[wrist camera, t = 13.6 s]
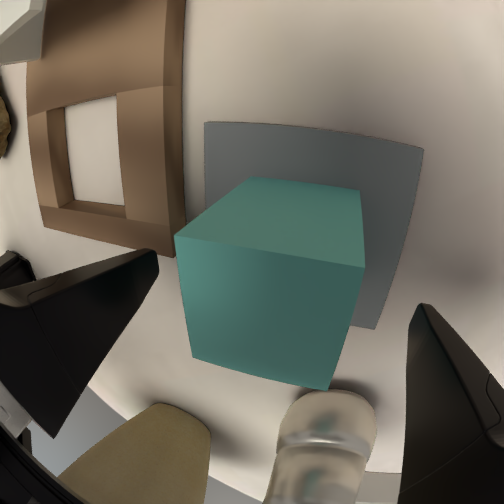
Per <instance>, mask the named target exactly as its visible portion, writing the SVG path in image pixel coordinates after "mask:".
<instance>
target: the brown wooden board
mask: <svg viewBox="0 0 504 504" xmlns="http://www.w3.org/2000/svg"><path fill="white" fill-rule="evenodd" d="M184 14H185V0H47V2H46V8H45V14H44V21H43V30H42V39H41V52H40V59H38V60H36V61H31V62H27V76H26V99H27V122H28V135H29V145H30V154H31V161H32V168H33V175H34V181H35V187H36V192H37V197H38V202H39V207H40V211H41V216H42V220H43V224H44V227H46V228H50V229H54V230H58V231H62V232H66V233H70V234H74V235H78V236H82V237H86V238H90V239H94V240H98V241H102V242H107V243H111V244H115V245H119V246H123V247H127V248H132V249H136V250H139V249H143V248H149V249H153V250H155V251H156V253H157V255H162V256H166V257H171V258H174V257H175V256H176V249H175V241H174V235H175V234H176V233H177V232H179V231H180V230H181V229H182V228H184V227H185V226H186V218H185V202H184V183H183V159H182V53H183V30H184ZM115 95H116V96H117V127H118V144H119V157H120V168H121V178H122V187H123V195H124V203H125V206H119V205H111V204H103V203H95V202H87V201H79V200H74V197H73V191H72V185H71V178H70V171H69V163H68V155H67V145H66V134H65V119H64V107H67V106H71V105H75V104H79V103H83V102H87V101H91V100H96V99H100V98H105V97H110V96H115Z"/></svg>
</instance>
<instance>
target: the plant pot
mask: <svg viewBox="0 0 504 504" xmlns="http://www.w3.org/2000/svg"><path fill="white" fill-rule="evenodd" d="M210 441H211V435H210V432H209V430H208V429H207V427H206V426H205V425H204V424H203V423H201V422H200V421H199V420H198V419H196V418H195V417H193V416H192V415H190V414H188V413H186V412H185V411H183V410H181V409H178V408H176V407H174V406H171V405H168V404H163V403H156V404H154V405H152V406H150V407H149V408H147V409H146V410H144V411H142V412H141V413H139V414H138V415H136V416H135V417H133V418H131V419H130V420H128V421H127V422H126V423H124V424H123V425H121V426H120V427H118V428H117V429H115V430H114V431H113V432H111V433H110V434H109V435H107V436H106V437H104V438H103V439H102V440H100V441H99V442H98V443H97V444H95V445H94V446H93V447H91V448H90V449H89V450H88V451H86V452H85V453H84V454H83V455H81V456H80V457H79V458H78V459H77V460H76V461H75V462H73V463H72V464H71V465H70V466H69V467H68V468H67V469H66V470H65V471H64V472H62V473H61V474H60V475H59V476H58V477H57V478H58V479H59V480H60V481H62V482H63V483H64V484H65V485H67V486H68V487H69V488H70V489H72V490H73V491H74V492H76V493H77V494H78V495H80V496H81V497H82V498H84V499H85V500H86V501H88V502H89V503H91V504H203V503H204V498H205V492H206V485H207V478H208V470H209V460H210Z"/></svg>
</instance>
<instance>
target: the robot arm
mask: <svg viewBox="0 0 504 504" xmlns="http://www.w3.org/2000/svg"><path fill="white" fill-rule="evenodd" d="M158 274H159V265H158V258H157V253H156V251H155V250H153V249H149V248H143V249H139V250H136V251H133V252H129V253H126V254H122V255H119V256H115V257H112V258H109V259H105V260H102V261H99V262H95V263H92V264H89V265H86V266H82V267H79V268H76V269H73V270H70V271H66V272H63V273H60V274H57V275H54V276H50V277H47V278H44V279H40V280H37V281H36V278H35V276H34V273H33V270H32V267H31V265H30V262H29V261H28V260H27V259H25V258H23V257H21V256H19V255H17V254H15V253H13V252H11V251H9V250H7V251H6V253H5V254H4V255H2V256H1V257H0V504H91V503H89V502H88V501H86V500H85V499H84V498H82V497H81V496H80V495H78V494H77V493H76V492H74V491H73V490H72V489H70V488H69V487H68V486H67V485H65V484H64V483H63V482H62V481H60V480H59V479H58V478H57V477H56V476H55V475H53V474H52V473H51V472H50V471H49V470H47V468H45V467H44V466H43V465H42V464H41V463H40V462H39V461H38V460H37V459H36V458H35V457H34V456H33V455H32V446H31V432H30V430H29V429H28V428H27V427H26V426H27V425H28V424H29V423H30V422H31V420H33V421H34V422H35V423H36V424H37V425H38V426H39V427H40V428H41V429H42V430H44V431H45V432H46V433H47V434H48V435H49V436H50V437H52V438H53V439H54V438H55V437H56V435H57V434H58V432H59V430H60V428H61V427H62V425H63V423H64V422H65V420H66V418H67V417H68V415H69V413H70V412H71V410H72V408H73V407H74V405H75V403H76V402H77V400H78V399H79V397H80V395H81V394H82V392H83V391H84V389H85V387H86V386H87V384H88V383H89V381H90V380H91V378H92V376H93V375H94V373H95V372H96V370H97V369H98V367H99V366H100V364H101V363H102V361H103V360H104V358H105V357H106V355H107V354H108V352H109V351H110V349H111V348H112V346H113V345H114V343H115V342H116V340H117V339H118V338H119V336H120V335H121V333H122V332H123V330H124V329H125V327H126V326H127V325H128V323H129V322H130V320H131V319H132V317H133V316H134V315H135V313H136V312H137V310H138V309H139V307H140V306H141V304H142V303H143V301H144V299H145V297H146V296H147V294H148V292H149V290H150V289H151V287H152V285H153V284H154V282H155V280H156V278H157V277H158ZM489 373H490V372H489V370H488V369H487V368H486V366H485V365H484V364H483V363H482V362H481V360H480V359H479V358H478V357H477V356H476V354H475V353H474V352H473V351H472V350H471V348H470V347H469V346H468V345H467V344H466V343H465V341H464V340H463V339H462V338H461V337H460V336H459V335H458V334H457V332H456V331H455V330H454V329H453V328H452V327H451V326H450V325H449V324H448V322H447V321H446V320H445V319H444V318H443V317H442V316H441V315H440V314H439V313H438V312H437V311H436V309H435V308H434V307H433V306H432V305H430V304H424V303H420V304H419V305H418V306H417V308H416V310H415V313H414V315H413V317H412V319H411V322H410V324H409V329H408V349H407V363H406V426H405V443H404V456H403V466H402V474H401V482H400V489H399V495H398V501H397V504H504V389H503V388H502V387H501V385H500V384H499V383H498V382H497V380H496V379H495V378H494V376H493V375H492V374H491V373H490V374H489Z"/></svg>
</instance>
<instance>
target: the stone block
mask: <svg viewBox="0 0 504 504" xmlns="http://www.w3.org/2000/svg"><path fill="white" fill-rule="evenodd" d="M10 131H11V125H10V121H9V114H8V113H7V111H6V107H5V103H4V101H3V100H2V98H1V96H0V158H1V157H2V156H3V155H4V153H5V150H6V147H7V144H8V142H7V139H6V138H7V135H8V134H9V132H10Z"/></svg>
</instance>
